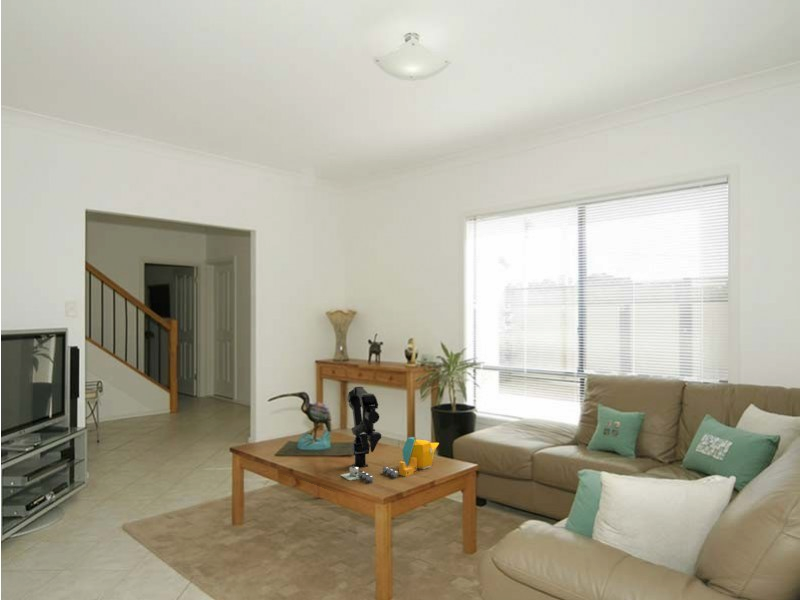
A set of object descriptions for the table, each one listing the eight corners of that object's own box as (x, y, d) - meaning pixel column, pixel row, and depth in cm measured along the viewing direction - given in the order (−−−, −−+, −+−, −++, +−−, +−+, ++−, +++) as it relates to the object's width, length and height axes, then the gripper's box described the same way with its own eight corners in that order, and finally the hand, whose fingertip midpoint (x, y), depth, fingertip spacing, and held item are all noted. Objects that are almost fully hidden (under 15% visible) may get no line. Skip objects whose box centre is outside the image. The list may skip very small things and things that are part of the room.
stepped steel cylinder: (348, 475, 278) (348, 466, 278) (355, 473, 281) (355, 465, 281) (352, 477, 275) (352, 468, 275) (360, 475, 277) (360, 467, 277)
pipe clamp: (406, 476, 278) (406, 463, 278) (399, 475, 281) (399, 462, 281) (419, 471, 288) (419, 458, 288) (412, 469, 290) (412, 457, 290)
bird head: (448, 462, 303) (448, 433, 303) (415, 472, 285) (415, 440, 285) (430, 457, 313) (430, 429, 313) (396, 466, 295) (396, 436, 295)
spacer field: (357, 477, 276) (357, 471, 276) (386, 472, 285) (386, 466, 285) (368, 483, 266) (368, 477, 266) (398, 477, 276) (398, 471, 276)
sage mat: (340, 475, 279) (340, 474, 279) (358, 472, 285) (358, 471, 285) (349, 480, 271) (349, 479, 271) (367, 477, 276) (367, 476, 276)
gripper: (345, 417, 288) (345, 447, 288) (361, 424, 272) (361, 456, 271) (365, 415, 293) (365, 445, 293) (381, 421, 277) (381, 453, 277)
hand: (367, 449), depth 283 cm, fingers open, 9 cm apart
